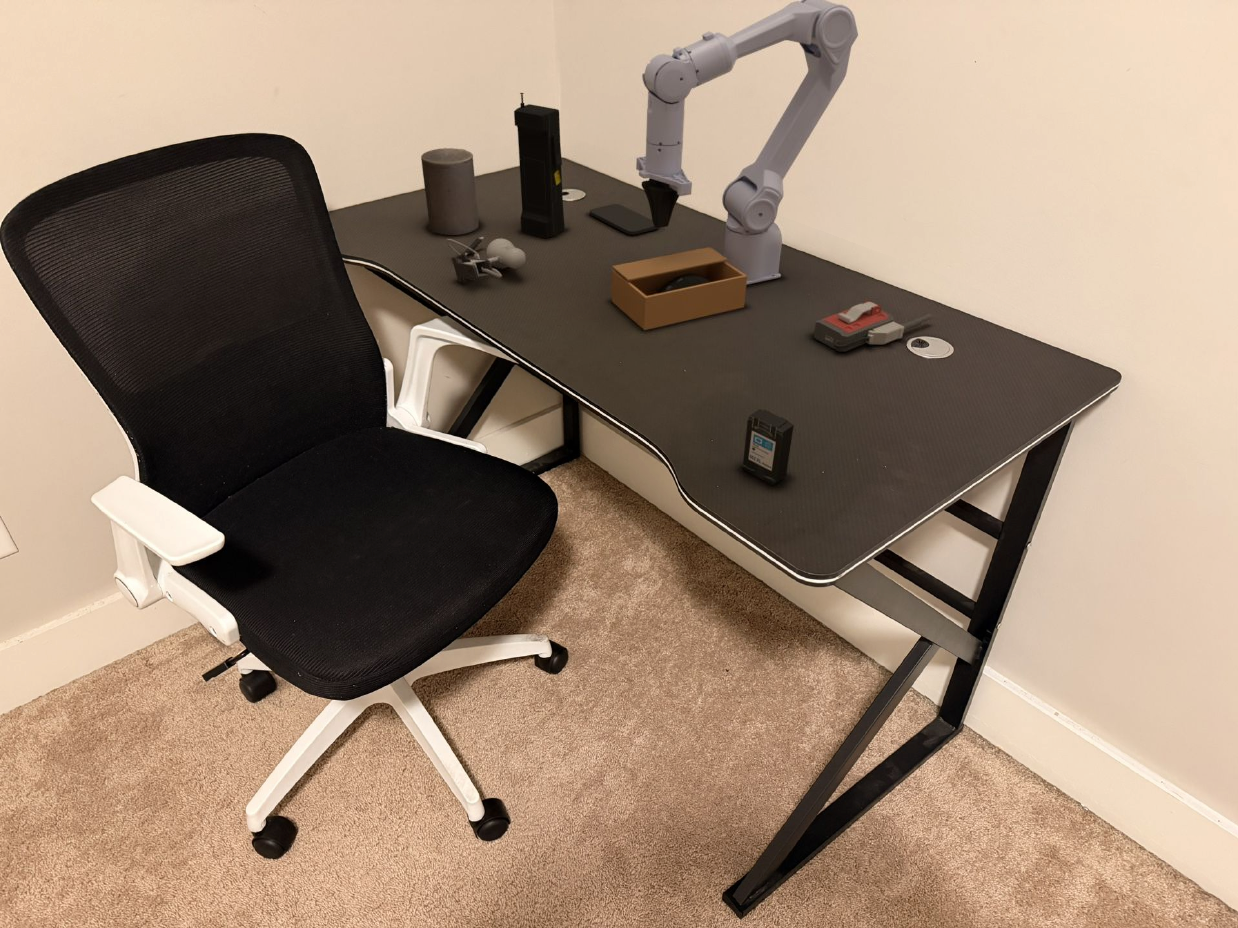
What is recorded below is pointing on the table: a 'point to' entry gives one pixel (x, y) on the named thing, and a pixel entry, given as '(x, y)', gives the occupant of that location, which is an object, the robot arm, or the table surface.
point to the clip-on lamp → (497, 253)
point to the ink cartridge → (767, 446)
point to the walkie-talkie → (861, 327)
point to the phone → (623, 219)
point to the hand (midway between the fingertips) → (660, 226)
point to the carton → (680, 295)
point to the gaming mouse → (683, 282)
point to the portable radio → (540, 169)
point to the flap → (669, 263)
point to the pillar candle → (450, 191)
